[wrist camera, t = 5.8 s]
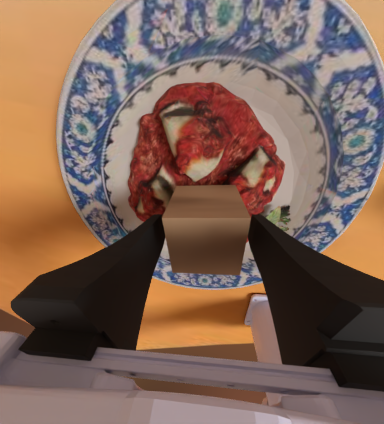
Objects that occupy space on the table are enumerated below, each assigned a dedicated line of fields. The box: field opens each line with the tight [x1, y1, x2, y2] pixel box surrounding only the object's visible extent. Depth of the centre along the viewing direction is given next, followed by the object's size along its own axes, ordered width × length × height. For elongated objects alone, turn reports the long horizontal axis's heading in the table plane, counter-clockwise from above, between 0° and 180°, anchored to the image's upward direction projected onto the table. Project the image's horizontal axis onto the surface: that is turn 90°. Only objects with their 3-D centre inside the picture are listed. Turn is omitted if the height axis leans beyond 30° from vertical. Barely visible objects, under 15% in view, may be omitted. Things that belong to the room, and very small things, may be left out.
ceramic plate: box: [56, 0, 384, 290], centre depth 14 cm, size 26×26×3 cm
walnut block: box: [162, 185, 251, 275], centre depth 11 cm, size 4×4×4 cm
